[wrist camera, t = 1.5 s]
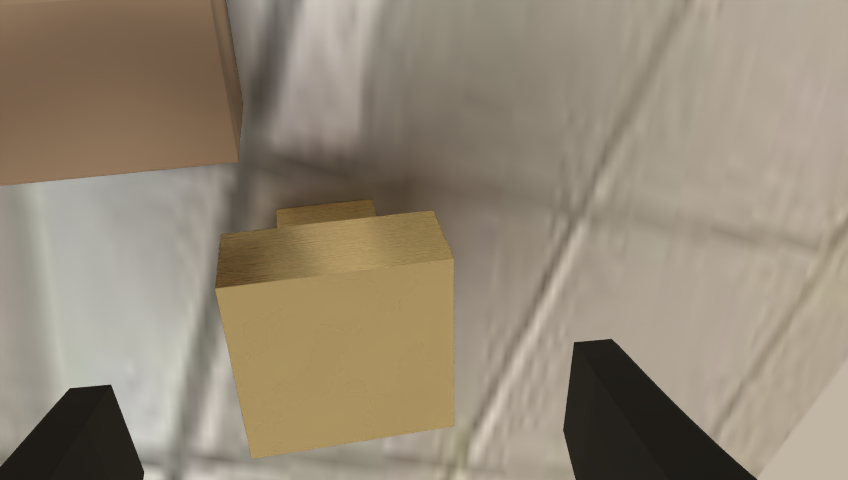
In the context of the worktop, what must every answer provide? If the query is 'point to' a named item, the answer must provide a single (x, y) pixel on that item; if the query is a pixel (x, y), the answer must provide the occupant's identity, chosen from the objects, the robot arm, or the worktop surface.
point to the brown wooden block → (115, 88)
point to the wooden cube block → (339, 326)
